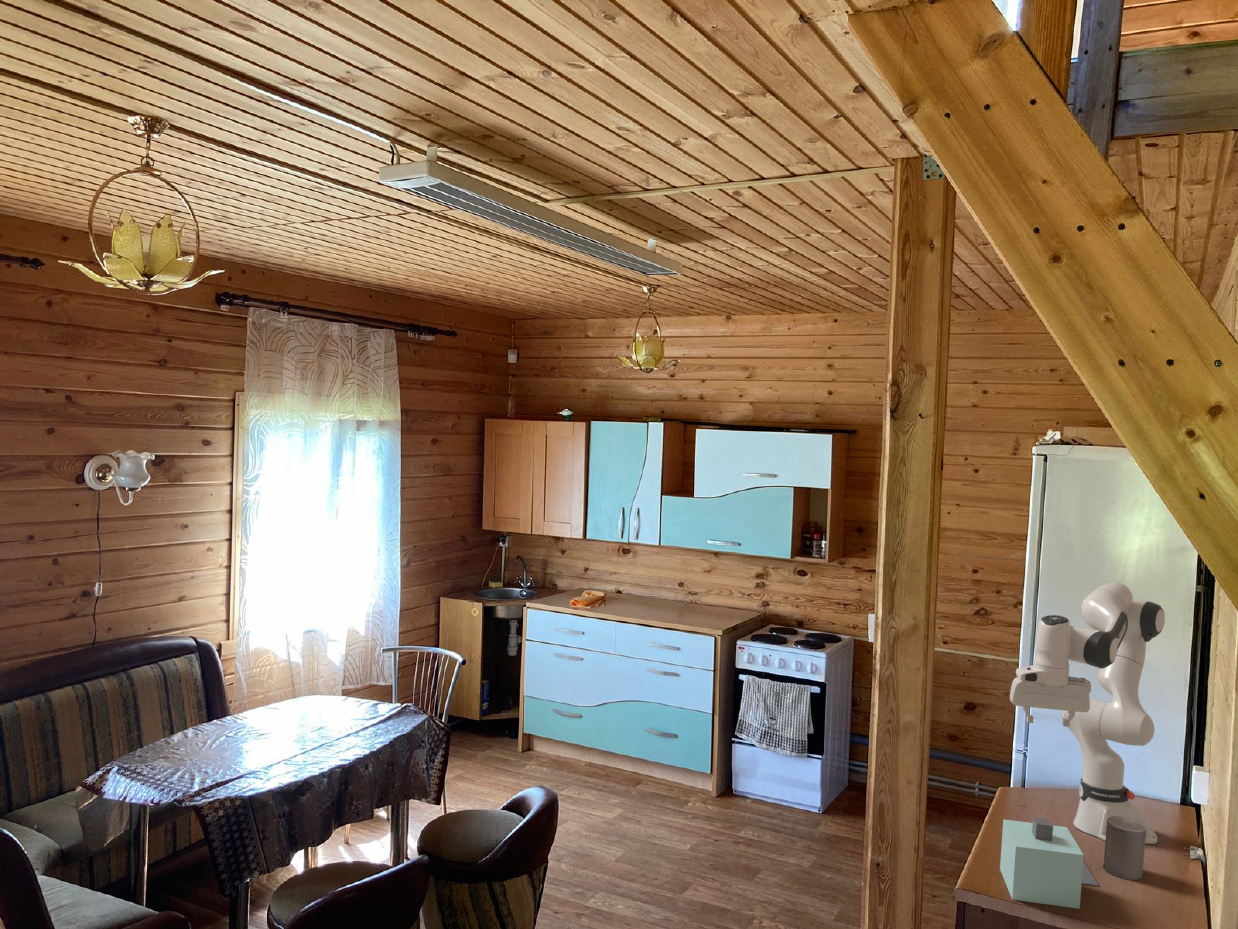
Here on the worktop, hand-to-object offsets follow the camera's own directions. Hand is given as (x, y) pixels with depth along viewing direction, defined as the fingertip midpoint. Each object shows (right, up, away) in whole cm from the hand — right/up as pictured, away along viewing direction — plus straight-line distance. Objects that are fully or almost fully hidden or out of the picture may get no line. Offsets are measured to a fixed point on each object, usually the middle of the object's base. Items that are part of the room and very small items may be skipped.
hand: (1047, 724), depth 257 cm
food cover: (-9, -39, -14) cm, 43 cm away
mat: (+1, -39, 0) cm, 39 cm away
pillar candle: (+20, -40, -2) cm, 45 cm away
